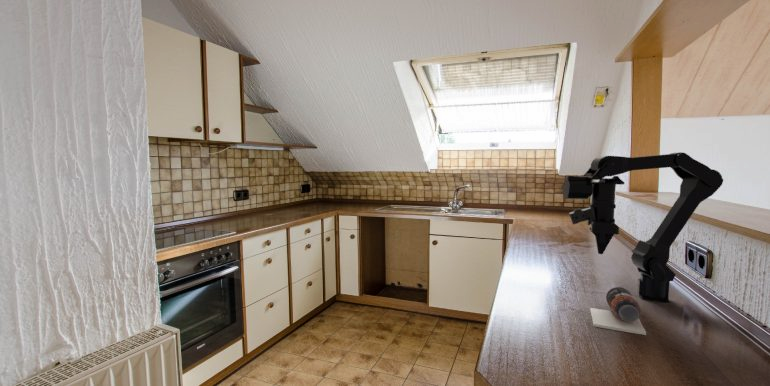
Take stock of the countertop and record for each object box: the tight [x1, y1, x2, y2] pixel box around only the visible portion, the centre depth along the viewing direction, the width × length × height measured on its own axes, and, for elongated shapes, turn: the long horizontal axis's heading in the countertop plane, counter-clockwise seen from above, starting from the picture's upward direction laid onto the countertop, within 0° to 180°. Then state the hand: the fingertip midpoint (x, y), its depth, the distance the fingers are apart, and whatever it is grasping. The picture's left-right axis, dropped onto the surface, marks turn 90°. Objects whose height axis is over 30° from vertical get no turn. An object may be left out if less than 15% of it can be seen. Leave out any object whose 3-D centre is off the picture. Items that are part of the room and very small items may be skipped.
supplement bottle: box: [605, 286, 642, 322], centre depth 89 cm, size 6×6×11 cm
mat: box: [589, 307, 647, 336], centre depth 88 cm, size 10×11×1 cm
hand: (600, 253), depth 107 cm, fingers closed
